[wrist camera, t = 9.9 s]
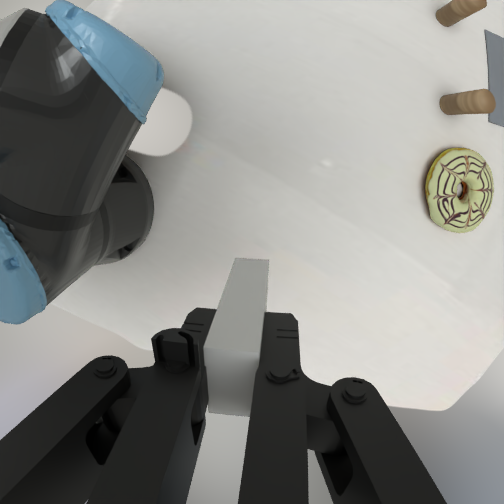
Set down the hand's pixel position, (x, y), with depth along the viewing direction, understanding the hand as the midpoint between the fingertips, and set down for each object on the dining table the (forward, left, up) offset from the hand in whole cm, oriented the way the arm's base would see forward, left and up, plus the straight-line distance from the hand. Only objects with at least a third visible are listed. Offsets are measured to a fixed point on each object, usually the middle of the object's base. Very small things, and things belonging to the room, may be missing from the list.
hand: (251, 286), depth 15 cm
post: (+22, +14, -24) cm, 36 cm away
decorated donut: (+24, +3, -25) cm, 35 cm away
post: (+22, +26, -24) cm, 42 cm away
